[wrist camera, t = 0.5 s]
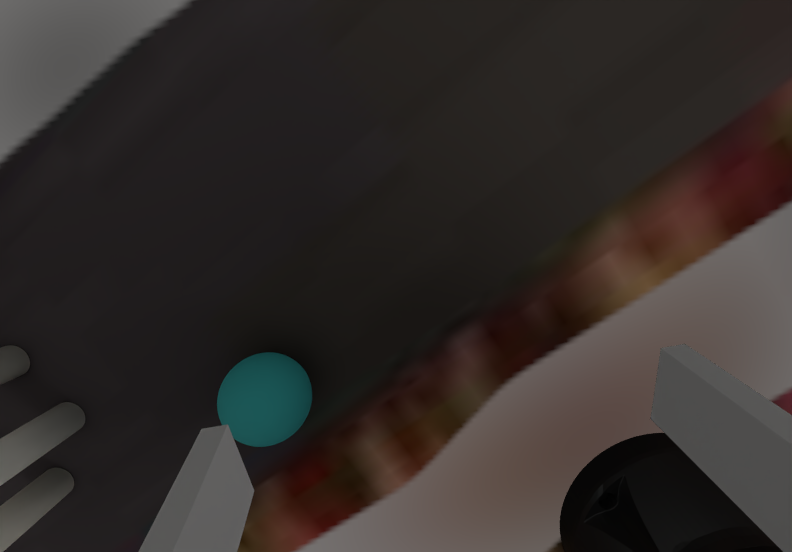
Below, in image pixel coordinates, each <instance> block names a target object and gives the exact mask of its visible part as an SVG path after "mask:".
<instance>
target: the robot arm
mask: <svg viewBox="0 0 792 552" xmlns="http://www.w3.org/2000/svg"><path fill="white" fill-rule="evenodd" d="M651 420H653V422H655V424H656V425H657V426H659V428H661V429H662V430H663V432H664V433H653V434H646V435H641V436H636V437H633V438H630V439H627V440H624V441H622V442H620V443H617V444H615V445H613V446H611V447H610V448H608V449H606V450H605V451H603V452H602V453H600V454H599V455H598V456H596V457H595V458H594V459H593V460H592V461H590V462H589V463H588V464H587V465H586V466H585V467H584V468H583V469H582V471H581V472H580V473H579V474H578V476H577V477H576V478H575V480H574V481H573V483H572V485H571V486H570V488H569V490H568V492H567V495H566V497H565V499H564V502H563V506H562V510H561V516H560V534H561V541H562V544H563V547H564V550H565V552H792V415H790V414H789V413H787V412H786V411H784V410H783V409H781V408H780V407H778V406H777V405H775V404H774V403H772V402H771V401H770V400H768V399H766V398H765V397H764V396H762V395H761V394H759V393H758V392H756V391H754V390H753V389H752V388H750V387H749V386H747V385H746V384H744V383H743V382H741V381H740V380H738V379H737V378H735V377H734V376H732V375H731V374H729V373H728V372H726V371H725V370H723V369H722V368H720V367H719V366H717V365H716V364H714V363H713V362H711V361H710V360H708V359H707V358H705V357H704V356H702V355H701V354H699V353H698V352H696V351H695V350H693V349H692V348H690V347H689V346H687V345H686V344H682V345H676V346H671V347H665V348H661V351H660V358H659V365H658V372H657V378H656V385H655V393H654V399H653V406H652V412H651ZM253 494H254V489H253V486H252V484H251V481H250V479H249V476H248V474H247V471H246V469H245V466H244V464H243V461H242V459H241V456H240V454H239V451H238V449H237V446H236V444H235V441H234V438H233V436H232V433H231V431H230V428H229V426H228V424H227V425H222V426H216V427H210V428H205V429H201V431H200V433H199V435H198V437H197V439H196V441H195V443H194V445H193V447H192V449H191V451H190V453H189V455H188V456H187V458H186V460H185V462H184V464H183V466H182V468H181V470H180V472H179V474H178V476H177V478H176V480H175V482H174V484H173V486H172V488H171V490H170V492H169V493H168V495H167V497H166V499H165V501H164V503H163V505H162V507H161V509H160V511H159V513H158V515H157V517H156V519H155V521H154V523H153V525H152V527H151V529H150V531H149V532H148V534H147V536H146V538H145V540H144V542H143V544H142V546H141V548H140V550H139V552H237V550H238V547H239V543H240V539H241V536H242V532H243V529H244V525H245V522H246V518H247V515H248V511H249V508H250V504H251V501H252V497H253Z"/></svg>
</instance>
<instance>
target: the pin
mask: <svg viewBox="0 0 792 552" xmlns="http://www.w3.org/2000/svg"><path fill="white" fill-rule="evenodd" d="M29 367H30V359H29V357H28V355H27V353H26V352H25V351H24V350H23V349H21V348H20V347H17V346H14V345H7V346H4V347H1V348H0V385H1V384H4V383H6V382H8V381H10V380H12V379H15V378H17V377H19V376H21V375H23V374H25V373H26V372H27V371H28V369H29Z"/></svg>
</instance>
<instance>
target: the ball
mask: <svg viewBox="0 0 792 552" xmlns="http://www.w3.org/2000/svg"><path fill="white" fill-rule="evenodd" d="M311 403H312V387H311V383H310V380H309V377H308V375H307V373H306V372H305V370H304V369H303V368H302V366H301V365H300V364H299V363H298V362H296V361H295V360H294V359H292V358H290V357H288V356H286V355H283V354H279V353H273V352H266V353H259V354H255V355H252V356H250V357H247V358H246V359H244V360H242V361H241V362H239V363H238V364H237V365H235V366H234V367H233V368H232V369H231V370H230V372H229V373H228V374H227V375H226V377H225V378H224V380H223V382H222V384H221V387H220V389H219V393H218V399H217V410H218V415H219V419H220V421H221V423H222V425H227V424H228V426H229V428H230V431H231V433H232V436H233V438H234V439H235V440H237V441H239V442H241V443H243V444H246V445H249V446H255V447H265V446H271V445H275V444H277V443H280V442H282V441H284V440H286V439H287V438H289V437H290V436H292V435H293V434H294V433H295V432H296V431H297V430H298V429H299V428H300V427H301V425H302V424H303V423H304V421H305V419H306V418H307V416H308V413H309V411H310V407H311Z"/></svg>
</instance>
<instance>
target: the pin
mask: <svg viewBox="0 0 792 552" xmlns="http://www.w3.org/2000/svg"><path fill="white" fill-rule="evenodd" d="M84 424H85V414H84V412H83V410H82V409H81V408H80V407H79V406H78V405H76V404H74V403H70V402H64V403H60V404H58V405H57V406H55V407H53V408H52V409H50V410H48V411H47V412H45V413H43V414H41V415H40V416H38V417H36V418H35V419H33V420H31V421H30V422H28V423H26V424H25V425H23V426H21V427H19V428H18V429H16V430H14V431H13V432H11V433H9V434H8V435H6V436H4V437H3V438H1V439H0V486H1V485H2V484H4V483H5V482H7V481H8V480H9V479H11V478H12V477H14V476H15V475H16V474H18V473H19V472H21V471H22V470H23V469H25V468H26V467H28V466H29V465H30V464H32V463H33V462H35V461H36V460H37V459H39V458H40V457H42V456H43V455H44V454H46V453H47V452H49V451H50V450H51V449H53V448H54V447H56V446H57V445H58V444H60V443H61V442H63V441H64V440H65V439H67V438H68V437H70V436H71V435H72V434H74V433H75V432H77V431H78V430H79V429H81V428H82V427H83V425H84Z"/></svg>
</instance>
